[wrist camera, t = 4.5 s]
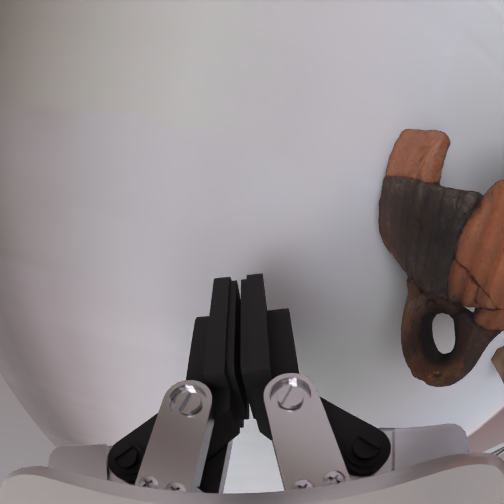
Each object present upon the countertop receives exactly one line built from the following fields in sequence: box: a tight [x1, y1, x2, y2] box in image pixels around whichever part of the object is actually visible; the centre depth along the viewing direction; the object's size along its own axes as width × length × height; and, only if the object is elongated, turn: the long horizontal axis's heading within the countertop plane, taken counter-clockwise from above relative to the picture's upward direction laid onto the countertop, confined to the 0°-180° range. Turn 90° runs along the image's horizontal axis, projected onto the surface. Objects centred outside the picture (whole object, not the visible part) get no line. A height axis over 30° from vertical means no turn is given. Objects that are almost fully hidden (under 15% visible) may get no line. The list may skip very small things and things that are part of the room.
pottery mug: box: [379, 129, 504, 387], centre depth 10 cm, size 12×10×8 cm
